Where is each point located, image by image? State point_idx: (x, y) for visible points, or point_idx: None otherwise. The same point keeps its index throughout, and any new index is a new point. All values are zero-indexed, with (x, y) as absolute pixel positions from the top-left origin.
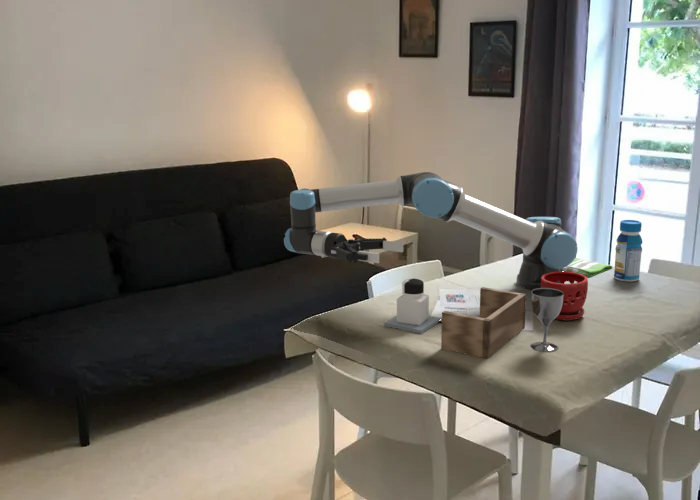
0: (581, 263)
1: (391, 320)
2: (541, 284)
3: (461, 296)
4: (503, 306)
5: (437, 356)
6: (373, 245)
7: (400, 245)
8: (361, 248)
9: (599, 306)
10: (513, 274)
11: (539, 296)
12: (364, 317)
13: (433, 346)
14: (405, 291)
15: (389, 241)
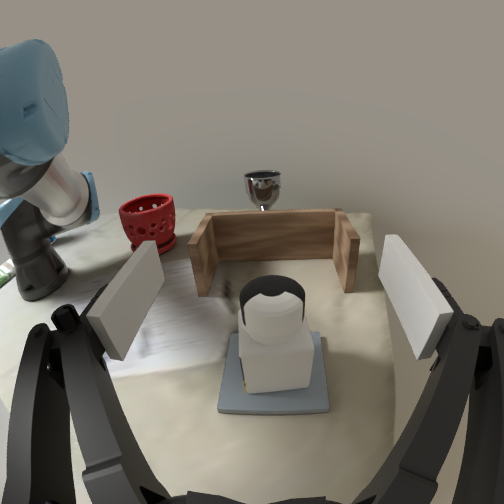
0: (5, 266)
1: (303, 403)
2: (150, 218)
3: None
4: (275, 212)
5: (377, 285)
6: (110, 397)
7: (154, 255)
8: (158, 489)
9: (121, 238)
10: (3, 309)
11: (280, 174)
12: (297, 486)
13: (353, 302)
14: (303, 315)
15: (112, 287)
